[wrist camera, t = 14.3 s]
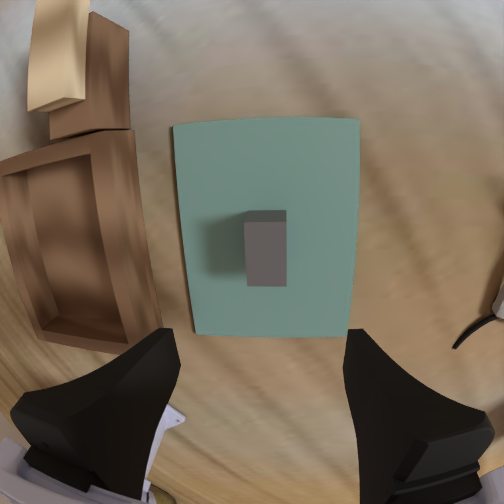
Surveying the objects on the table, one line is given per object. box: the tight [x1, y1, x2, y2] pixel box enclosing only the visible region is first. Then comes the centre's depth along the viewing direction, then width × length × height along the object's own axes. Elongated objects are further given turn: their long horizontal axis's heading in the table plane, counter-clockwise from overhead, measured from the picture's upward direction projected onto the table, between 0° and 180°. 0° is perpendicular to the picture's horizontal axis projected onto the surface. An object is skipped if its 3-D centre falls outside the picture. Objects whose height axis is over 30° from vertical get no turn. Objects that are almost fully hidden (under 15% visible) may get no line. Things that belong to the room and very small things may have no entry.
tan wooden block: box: [27, 0, 90, 112], centre depth 11 cm, size 9×3×2 cm, turn 3°
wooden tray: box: [0, 12, 163, 355], centre depth 19 cm, size 24×12×5 cm, turn 3°
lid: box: [173, 117, 360, 337], centre depth 20 cm, size 16×12×4 cm
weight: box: [148, 484, 177, 504], centre depth 38 cm, size 14×14×5 cm
